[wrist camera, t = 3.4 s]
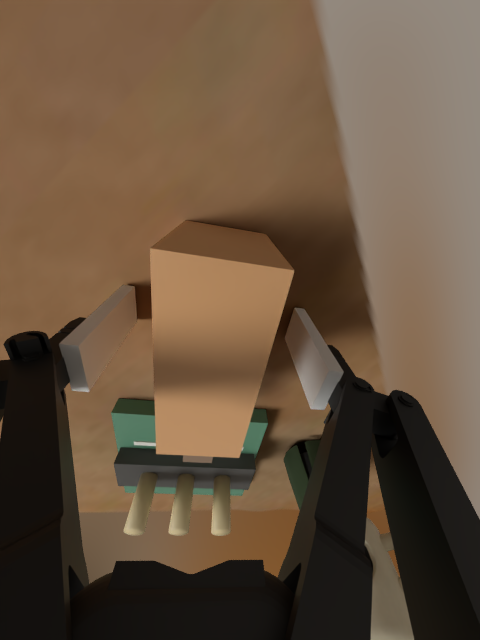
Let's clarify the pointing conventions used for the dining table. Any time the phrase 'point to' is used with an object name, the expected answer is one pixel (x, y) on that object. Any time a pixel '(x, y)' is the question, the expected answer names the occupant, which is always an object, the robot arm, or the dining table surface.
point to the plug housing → (212, 334)
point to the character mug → (387, 592)
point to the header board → (177, 470)
